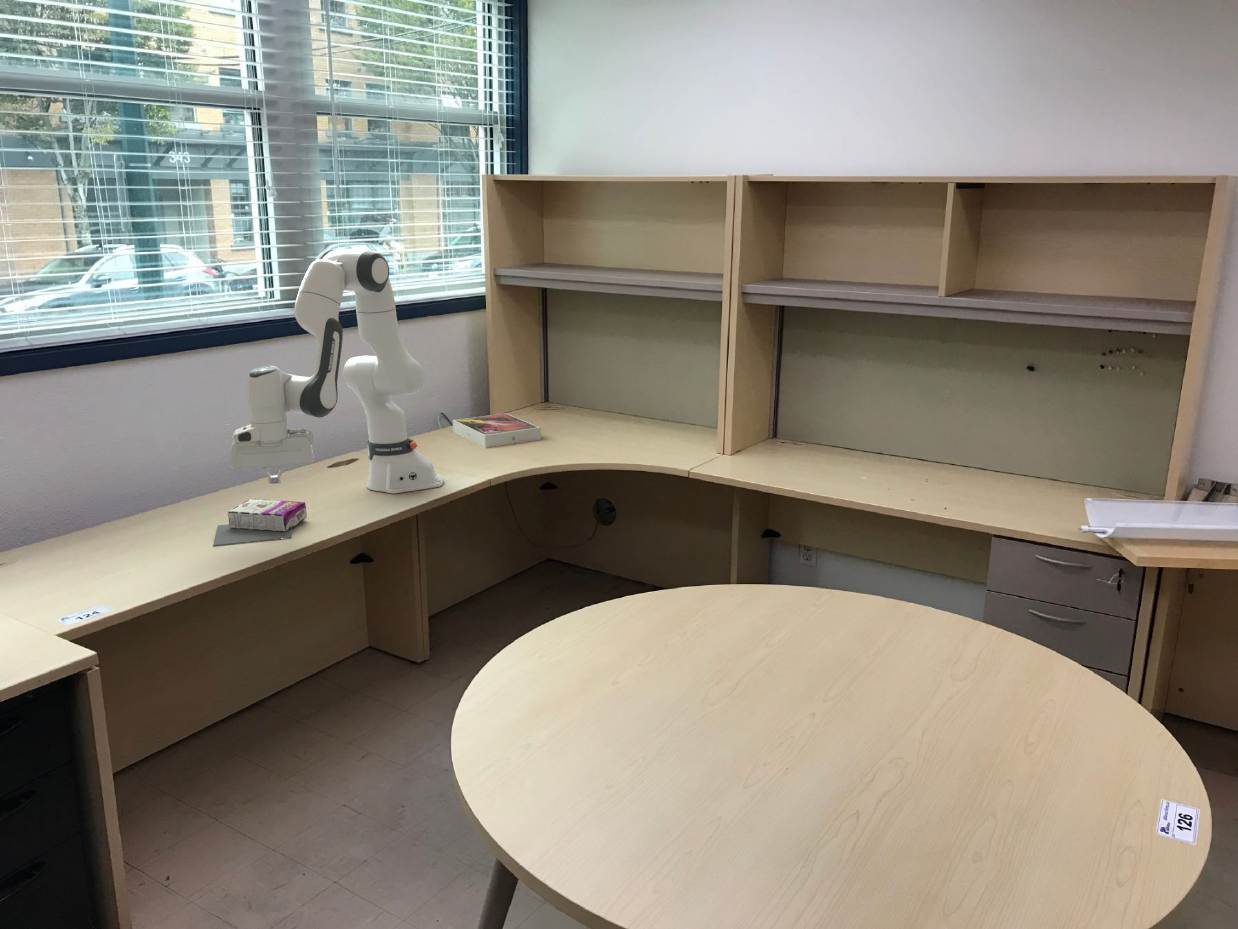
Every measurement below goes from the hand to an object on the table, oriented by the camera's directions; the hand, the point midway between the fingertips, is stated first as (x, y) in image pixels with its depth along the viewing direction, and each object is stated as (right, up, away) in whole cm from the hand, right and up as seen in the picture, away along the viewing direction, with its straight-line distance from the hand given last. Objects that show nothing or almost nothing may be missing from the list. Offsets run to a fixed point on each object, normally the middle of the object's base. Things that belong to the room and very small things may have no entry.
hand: (274, 483), depth 250 cm
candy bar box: (+4, -9, +5) cm, 11 cm away
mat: (-6, -13, +2) cm, 14 cm away
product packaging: (+44, +15, +102) cm, 113 cm away
